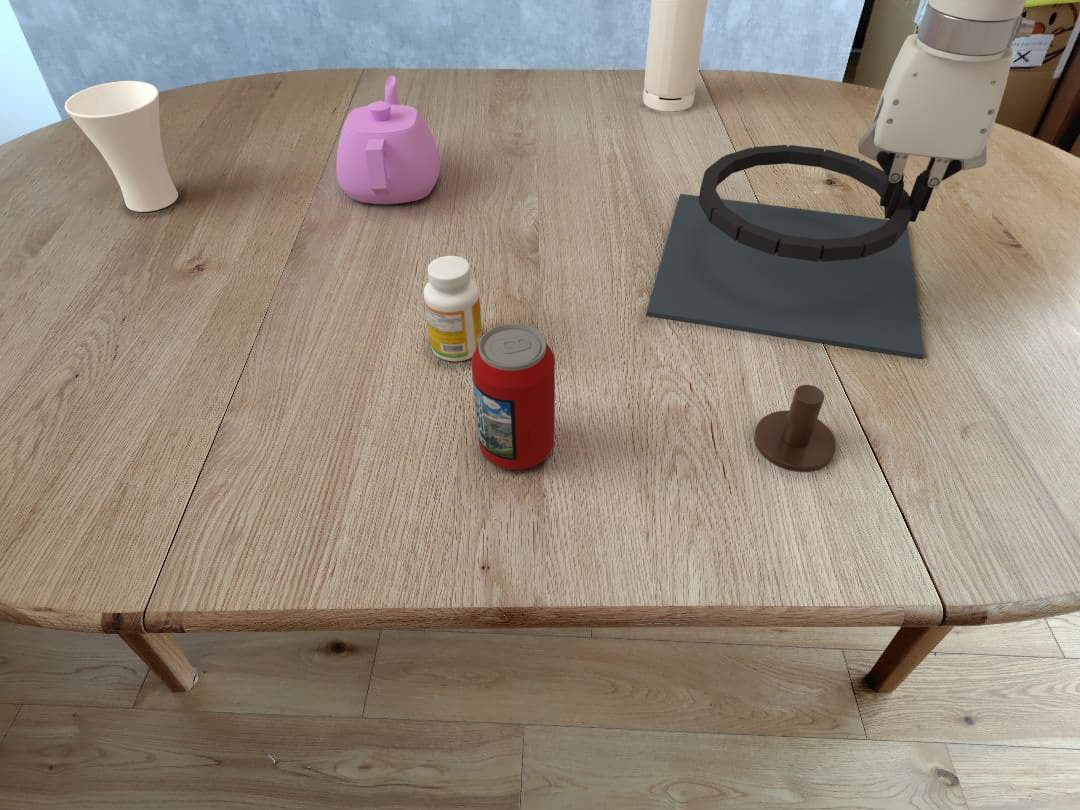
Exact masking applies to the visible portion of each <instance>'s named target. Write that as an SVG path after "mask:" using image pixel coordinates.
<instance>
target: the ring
mask: <svg viewBox="0 0 1080 810" xmlns="http://www.w3.org/2000/svg"><path fill="white" fill-rule="evenodd" d="M787 164H789V165H798V166H805V167H806V166H807V167H814V168H820V169H824V170H827V171H831V172H834V173H837V174H841V175H844V176H847V177H850V178H852V179H853V180H855V181H857V182H859V183H860V184H862V185H864V186H866V187H868V188H870V189H871V190H873V191H875V193H876V194H877V195H878V196H879V197H880V198H881V195H882V192H883V189H884V186H885V183H886V180H887V177H888V176H887V175H886V174H885V172H884V171H883V169H882V168H878V167H877V166H875V165H873V164H871V163H869V162H868V161H865V160H863V159H860V158H858V157H855V156H851V155H849V154H844V153H841V152H838V151H834V150H831V149H826V150H825V148H821V147H811V146H804V145H803V146H802V145H792V144H789V145H787V144H777V145H763V146H753V147H748V148H745V149H742V150H741V149H740V150H738V151H735V152H731V153H728V154H725V155H724V156H721V157H720V158H719V159H717V160H716V161H715V162H714V163H712V164H711V165H710V166H709V167H707V168H706V169H705V171H704V172H703V176H702V180H701V184H700V189H699V195H698V196H699V204H700V206H701V208H702V210H703V211H704V213H705V215H706V217H707V219H708V221H709V222H711V224H712V225H714V226H715V227H717V228H718V229H719V230H721V231H722V232H724V233H725V234H726V235H728V236H729V237H730V238H732V239H733V240H735V241H736V240H738V243H741V244H744V245H746V246H749V247H752V248H755V249H757V250H760V251H763V252H766V253H768V254H771V255H775V254H776V253H777V256H779V257H787V258H794V259H801V260H809V261H816V262H818V261H819V259H820V260H821V262H825V261H837V260H850V259H860V257H862V258H865V257H867V256H870V255H872V254H875V253H877V252H880V251H882V250H885V249H887V248H890V247H891V246H893V245H894V244H895V243H896V241H897V240H898V239H899V238H900V236H901V235H902V234H903V233H904V231H905V230H906V229H907V228H908V226H909V223H910V218H911V215H912V212H911V205H910V195H909V192H908V191H906V189H905V187H904V188H903V191H902V194H901V197H900V200H899V202H898V205H897V208H896V210H895V212H894V214H893V215H892V216H891V218H890V219H887V220H888V221H887V222H886V223H885V225H884V226H883V227H880V228H878V229H875V230H873V231H870V232H867V233H865V234H862V235H859V236H857V237H848V238H835V239H823V240H820V239H813V238H805V237H797V236H790V235H783V234H780V233H777V232H774V231H771V230H768V229H766V228H763V227H760V226H757V225H754V224H751V223H748V222H747V221H745V220H744V219H743V218H741V217H740V216H738V215H737V214H735V213H734V212H732V211H731V210H729V209H728V208H727V207H725V205H724V203H723V202H722V200H721V199H722V198H721V196H720V195H719V193H718V191H717V187H718V186H719V185H721V183H722V182H724V181H725V180H726V179H727V178H728V177H730V176H731V175H732V174H735V173H738V172H741V171H745V170H748V169H750V168H751V169H752V168H755V167H759V166H772V165H773V166H774V165H787Z"/></svg>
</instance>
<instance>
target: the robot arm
mask: <svg viewBox="0 0 1080 810" xmlns="http://www.w3.org/2000/svg"><path fill="white" fill-rule="evenodd" d="M1026 2H1027V0H927V4H926V8H925V10H924V13H923V16H922V20H921V22H920V27H919V29H918V31H917V33H914V34H913V33H912V34H910V35H907V37H906V39H905V40H904V42H903V43H902V46H901V48H900V50H899V52H898V54H897V56H896V58H895V60H894V63H893V65H892V67H891V69H890V72H889V73H888V74H889V75H888V77H887V79H886V82H885V85H884V86H883V90H882V93H881V94H880V95H881V96H880V98H879V101H878V104H877V107H876V109H875V112H874V116H873V119H872V124H871V125H870V127H869V128H868V130H867V131H866V132H865V134H864V135H863V136H862V137H861V138H860V140H859V142H858V144H857V149H858V150H857V151H858V153H859V154H860V155H862V156H864V157H866V158H868V159H870V160H872V161H876V162H877V165H879V166H880V169H881V170H882V171H884V172H885V174H886V175H887V176H888V177H887V180H886V183H885V186H884V189H883V192H882V195H881V197H880V198H879V206H880V207H883V210H884V219H886V220H889V219H890V218H891V216H892V215H893V214H894V212H895V210H896V208H897V205H898V202H899V200H900V197H901V194H902V191H903V188H904V189H905V182H904V178H905V176H904V175H905V174H904V173H905V172H904V171H905V168H906V165H907V162H908V159H909V156H917V157H924V158H925V157H926V158H929V159H928V161H927V163H926V167H925V170H923V171H922V172H920V173H919V175H918V174H917V176H916V178H915V181H914V185H913V186H912V190H911V192H910V195H909V196H910V205H911V212H912V215H911V218H910V221H909V223H916V221H917V218H918V216H919V214H920V212H925V211H926V209H927V207H928V204H929V202H930V199H931V197H932V194H933V191H934V189H935V188H937V187H939V186H940V185H941V183H942V182H943V181H945V180H947V179H948V178H950V177H952V176H954V175H956V174H957V173H959V172H960V171H967V170H972V169H973V170H974V169H978V168H982V167H985V165H986V164H987V161H988V160H987V144H988V141H989V139H990V136H991V133H992V132H993V128H994V125H995V122H996V120H997V116H998V114H999V111H1000V107H1001V103H1002V100H1003V97H1004V93H1005V90H1006V86H1007V83H1008V78H1009V73H1010V71H1011V66H1012V65H1011V64H1012V59H1013V54H1014V53H1013V48H1012V43H1013V42H1014V41H1015V40H1016V39H1020V38H1030V37H1031V36H1032V34H1033V31H1034V30H1035V25H1036V21H1035V20H1033V19H1032V20H1031V19H1027V18H1026V17H1023V15H1022V12H1023V10H1024V7H1025V5H1026Z"/></svg>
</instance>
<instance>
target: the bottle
mask: <svg viewBox="0 0 1080 810" xmlns="http://www.w3.org/2000/svg"><path fill="white" fill-rule="evenodd" d="M707 7H708V0H650V11H649V23H648V34H647V46H646V56H645V70H644V78H643V79H644V80H643V85H644V87H643V92H642V103H643V104H644V105H645V106H646V107H648V108H650V109H652V110H655V111H662V112H681V111H685V110H688V109H689V108H691V107H692V106H693V105H694V103H695V96H696V92H695V90H696V87H697V80H698V73H699V65H700V58H701V52H702V51H701V50H702V44H703V42H702V41H703V37H704V28H705V20H706V14H707ZM661 98H662V99H661ZM668 99H669V100H668ZM671 99H675V100H671Z"/></svg>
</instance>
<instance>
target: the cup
mask: <svg viewBox="0 0 1080 810" xmlns="http://www.w3.org/2000/svg"><path fill="white" fill-rule="evenodd" d="M159 92H160V91H159V90H158V88H157V87H156V86H155V85H153V84H151V83H149V82H145V81H138V80H120V81H112V82H111V81H110V82H105V83H102V84H100V83H99V84H95V85H93V86H89V87H86V88H84V89H82V90H80V91H77V92H76V93H74V94H73V95H71V96H70V97H68V99H66V100H65V104H64V109H65V111H66V113H67V114H68V115H69V116H70V117H71V118H72V120H73V121H74V123H76V124H77V126H78V127H79V128H80V129H81V130H82V132H84V134H85V135H86V137H88V139H89V140H90V141H91V142H92V144H93V145H94V146H95V147H96V149H97V150H98V151H99V152H100V154H101V156H102V157H103V158H104V161H105V162H106V163H107V165H108V166H109V168H110V169H111V171H112V173H113V174H114V177H115V179H116V181H117V183H118V185H119V188H120V190H121V194H122V197H123V200H124V202H125V206H126V208H128V209H129V210H130V211H133V212H140V213H147V212H148V213H149V212H154V211H158V210H161V209H164V208H167V207H169V206H170V205H172V204H173V203H175V202H176V201H177V199H178V198H179V192H178V190H177V188H176V186H175V184H174V183H173V180H172V178H171V176H170V173H169V170H168V169H169V168H168V166H167V163H166V159H165V156H164V150H163V144H162V138H161V124H160V123H161V122H160V120H161V119H160V95H159V94H160V93H159Z"/></svg>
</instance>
